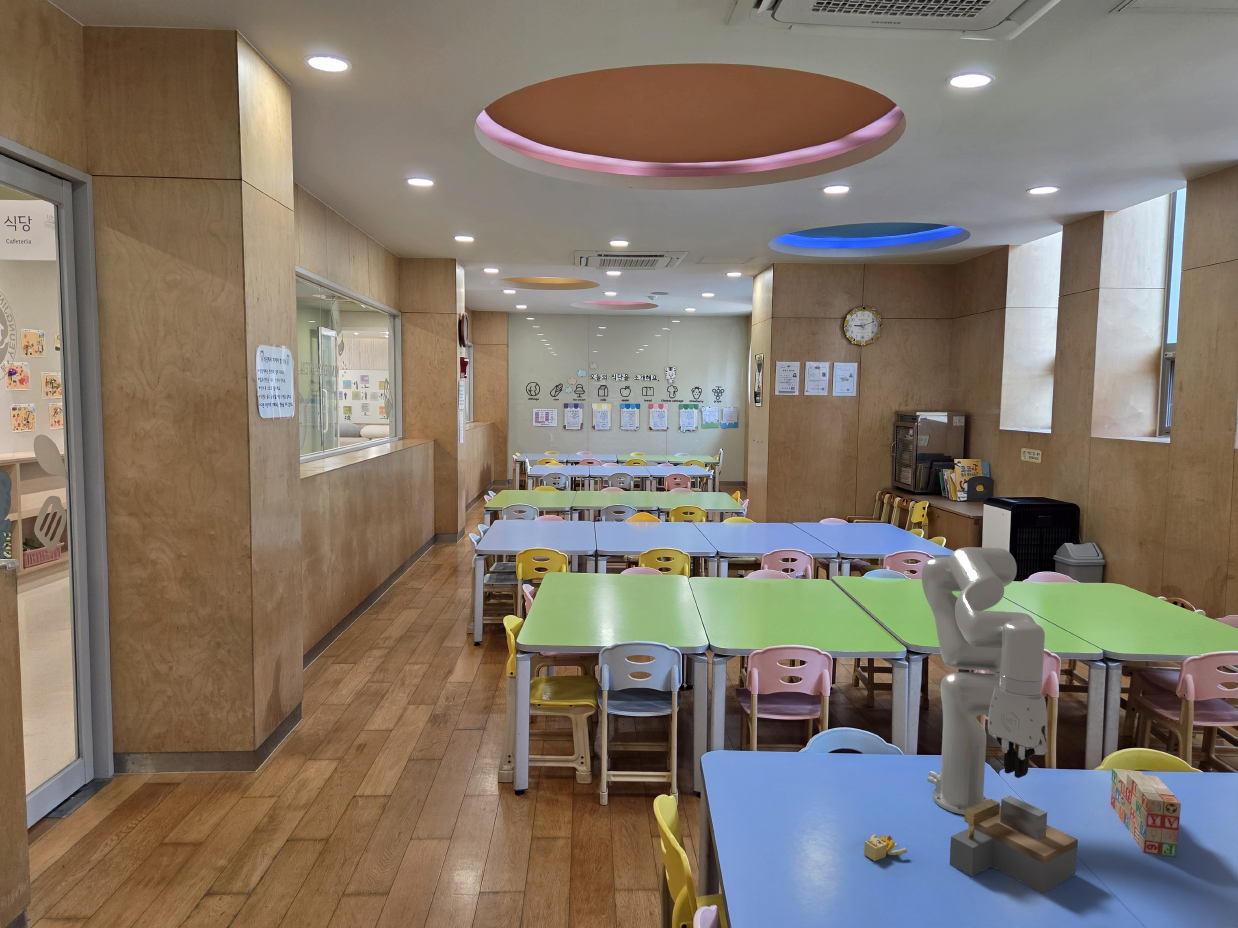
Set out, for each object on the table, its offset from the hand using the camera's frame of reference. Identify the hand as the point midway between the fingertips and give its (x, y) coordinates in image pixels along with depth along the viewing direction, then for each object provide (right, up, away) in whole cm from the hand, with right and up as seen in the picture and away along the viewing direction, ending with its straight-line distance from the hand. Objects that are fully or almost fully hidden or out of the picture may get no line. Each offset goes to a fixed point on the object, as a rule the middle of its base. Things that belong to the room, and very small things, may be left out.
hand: (1015, 773), depth 158 cm
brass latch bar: (-4, -14, +6) cm, 16 cm away
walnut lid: (+4, -15, +5) cm, 16 cm away
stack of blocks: (+38, -21, +20) cm, 48 cm away
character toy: (-23, -21, +8) cm, 32 cm away
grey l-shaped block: (+1, -21, +3) cm, 21 cm away
